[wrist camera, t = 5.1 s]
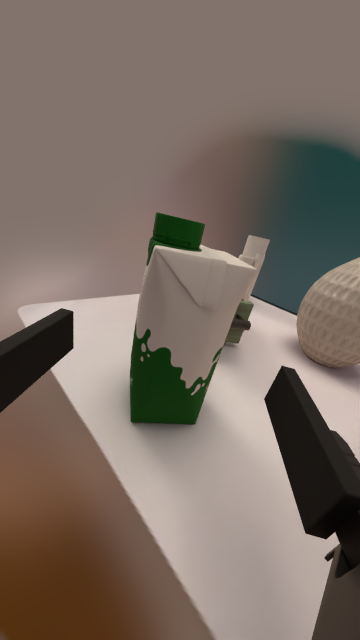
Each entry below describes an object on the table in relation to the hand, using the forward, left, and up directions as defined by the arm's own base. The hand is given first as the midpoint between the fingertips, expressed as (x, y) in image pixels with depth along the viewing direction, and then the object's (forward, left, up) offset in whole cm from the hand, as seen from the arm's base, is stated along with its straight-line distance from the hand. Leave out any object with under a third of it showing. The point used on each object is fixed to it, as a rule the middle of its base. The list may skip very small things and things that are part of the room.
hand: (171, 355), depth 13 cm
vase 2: (+14, +41, -12) cm, 45 cm away
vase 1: (-12, +62, -12) cm, 64 cm away
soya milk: (-4, +8, -12) cm, 15 cm away
